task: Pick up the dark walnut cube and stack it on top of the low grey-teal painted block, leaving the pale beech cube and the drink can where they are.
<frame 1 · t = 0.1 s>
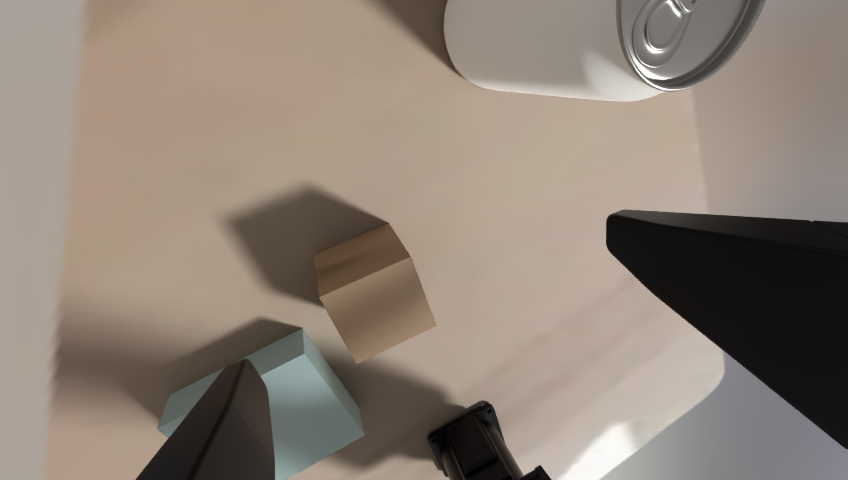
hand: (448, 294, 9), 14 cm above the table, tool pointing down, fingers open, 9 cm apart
walnut cube: (365, 269, 24), on the table
can: (492, 27, 21), on the table
base block: (274, 397, 26), on the table
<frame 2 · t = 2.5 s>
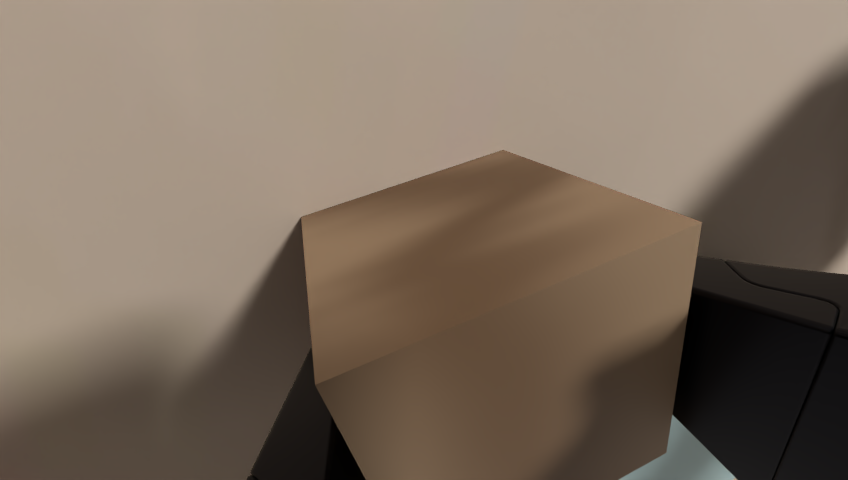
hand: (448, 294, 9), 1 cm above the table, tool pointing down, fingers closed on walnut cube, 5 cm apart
walnut cube: (430, 270, 10), on the table, touching gripper
base block: (619, 391, 16), on the table
when the fingers open (5 cm above the table, at t = 6.9 s): walnut cube drops 1 cm, resting on base block.
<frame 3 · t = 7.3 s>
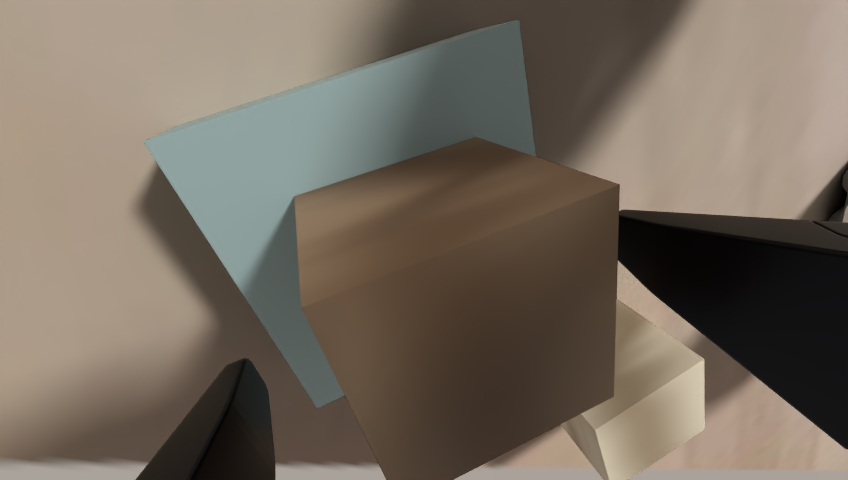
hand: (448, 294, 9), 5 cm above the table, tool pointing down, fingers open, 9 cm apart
walnut cube: (412, 246, 11), point 2 cm above the table, touching base block
beech cube: (572, 349, 19), on the table
base block: (381, 207, 13), on the table, touching walnut cube
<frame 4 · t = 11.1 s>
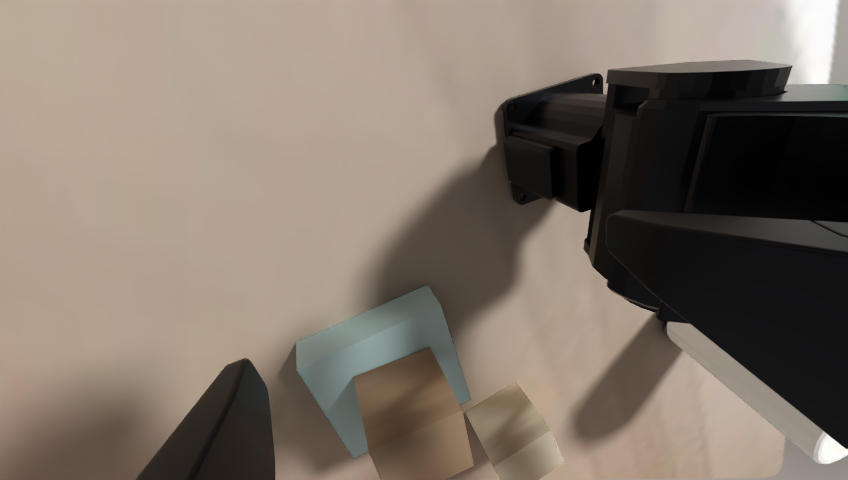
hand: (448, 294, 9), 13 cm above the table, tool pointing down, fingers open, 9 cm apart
walnut cube: (400, 388, 24), point 2 cm above the table, touching base block
beech cube: (498, 412, 32), on the table
cup: (688, 303, 35), on the table
base block: (384, 355, 26), on the table, touching walnut cube
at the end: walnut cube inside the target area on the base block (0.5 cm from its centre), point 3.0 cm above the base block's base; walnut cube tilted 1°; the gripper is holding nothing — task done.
